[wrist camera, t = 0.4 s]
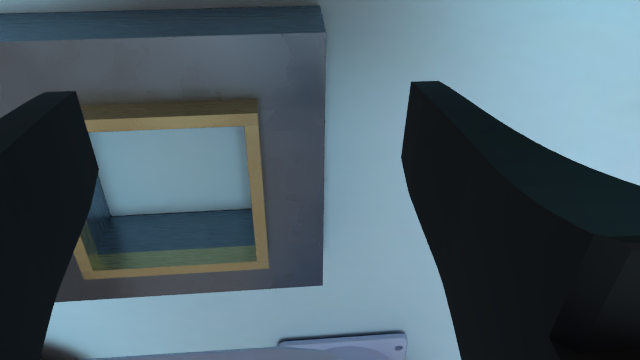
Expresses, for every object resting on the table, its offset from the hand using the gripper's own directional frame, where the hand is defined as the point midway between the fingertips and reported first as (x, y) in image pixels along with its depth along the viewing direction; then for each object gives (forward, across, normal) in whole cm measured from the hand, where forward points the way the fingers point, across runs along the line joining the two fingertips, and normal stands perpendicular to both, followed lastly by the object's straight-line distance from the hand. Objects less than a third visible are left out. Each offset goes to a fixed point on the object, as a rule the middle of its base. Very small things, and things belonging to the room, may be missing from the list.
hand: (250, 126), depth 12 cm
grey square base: (+10, +4, +8) cm, 13 cm away
